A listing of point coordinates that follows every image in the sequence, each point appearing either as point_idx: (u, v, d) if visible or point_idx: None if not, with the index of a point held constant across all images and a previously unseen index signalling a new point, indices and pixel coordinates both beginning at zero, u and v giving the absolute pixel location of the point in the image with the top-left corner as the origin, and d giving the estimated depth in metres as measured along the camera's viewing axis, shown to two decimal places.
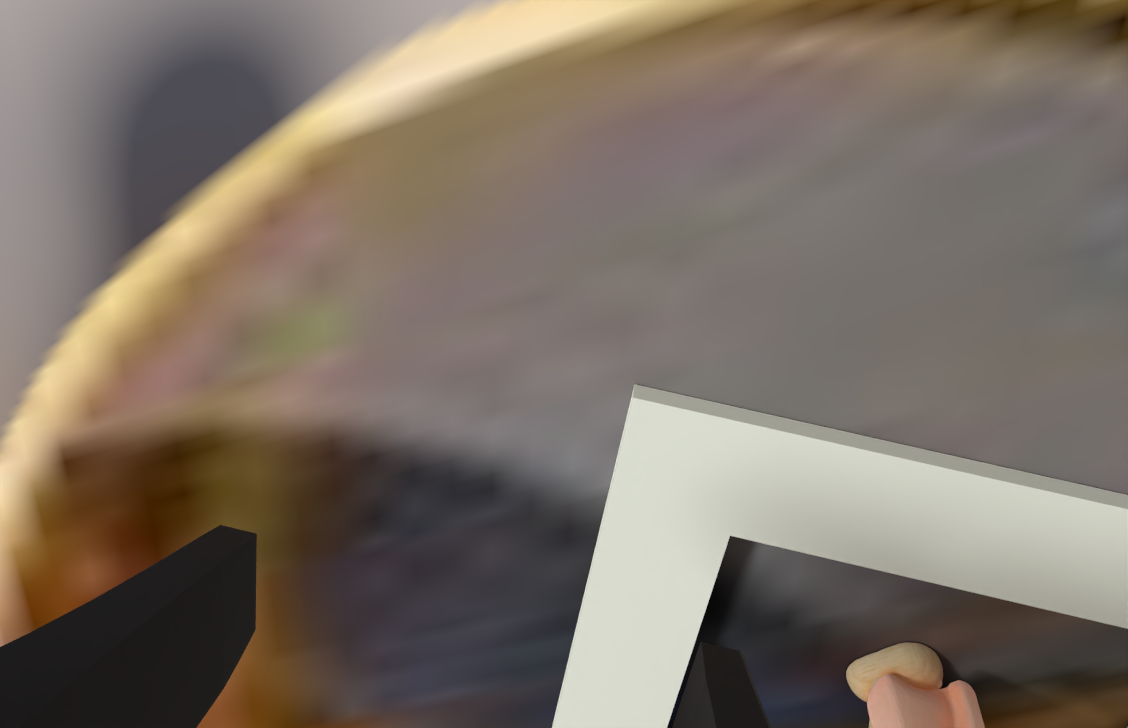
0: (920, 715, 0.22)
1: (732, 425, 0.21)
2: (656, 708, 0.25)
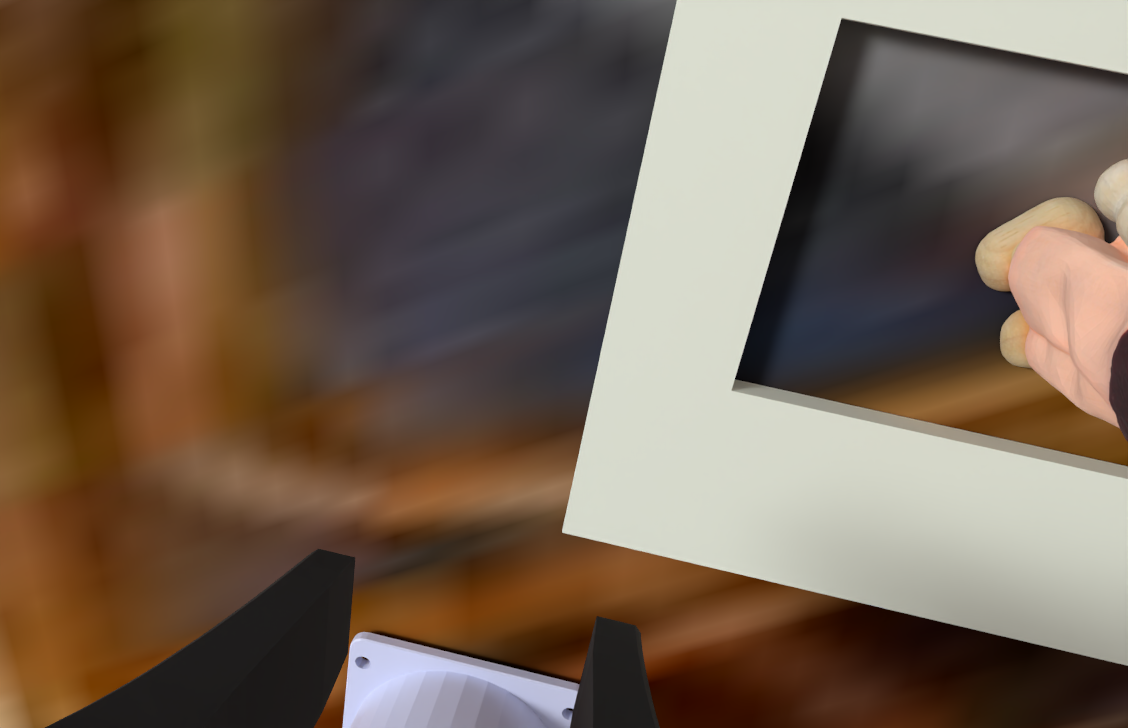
0: (1094, 240, 0.17)
1: None
2: (733, 313, 0.20)
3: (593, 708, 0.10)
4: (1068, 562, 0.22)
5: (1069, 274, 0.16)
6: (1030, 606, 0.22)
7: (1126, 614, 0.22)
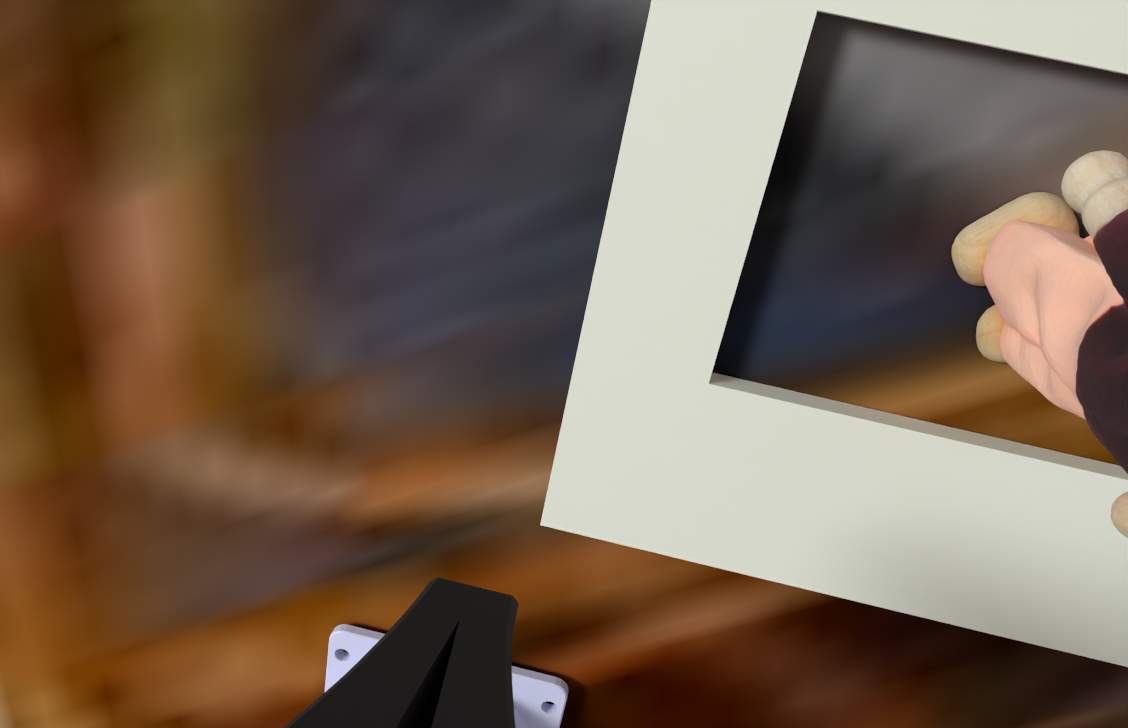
0: (1066, 234, 0.17)
1: None
2: (710, 306, 0.20)
3: (446, 671, 0.10)
4: (1043, 557, 0.22)
5: (1040, 267, 0.16)
6: (1006, 601, 0.22)
7: (1101, 609, 0.22)
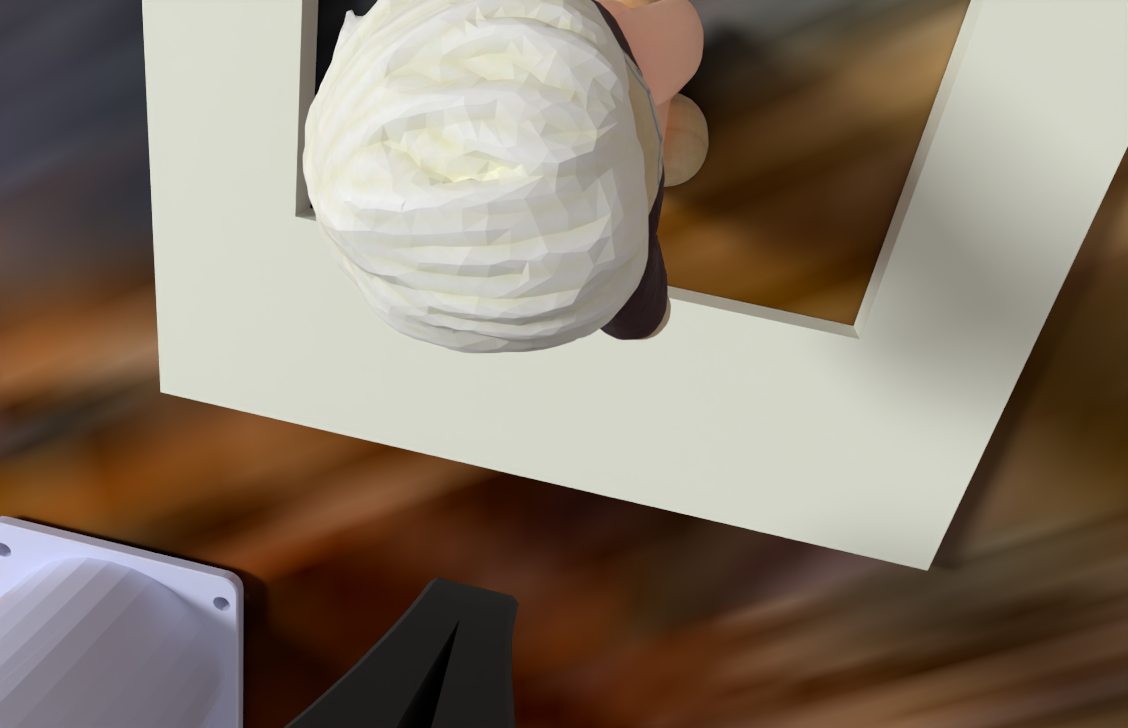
0: None
1: None
2: (276, 122, 0.18)
3: (446, 671, 0.10)
4: (686, 413, 0.19)
5: None
6: (657, 466, 0.20)
7: (758, 473, 0.20)
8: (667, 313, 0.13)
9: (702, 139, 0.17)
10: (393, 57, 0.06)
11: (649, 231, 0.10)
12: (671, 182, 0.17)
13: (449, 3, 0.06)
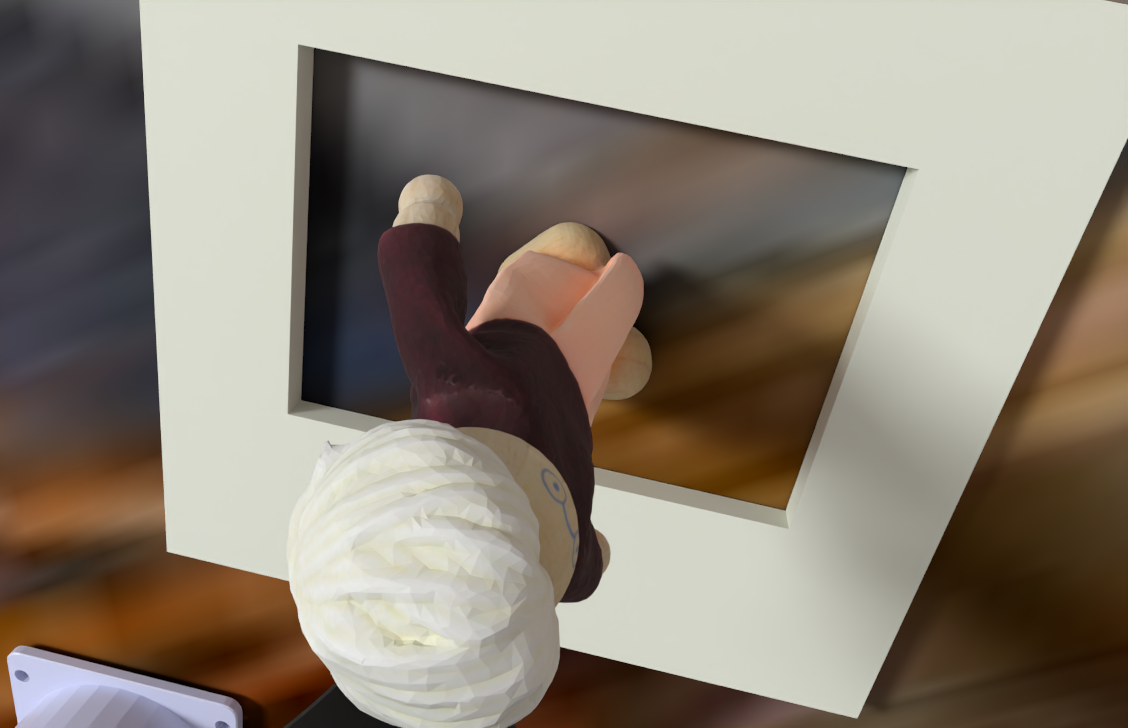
0: (543, 263, 0.17)
1: None
2: (270, 338, 0.20)
3: None
4: (638, 583, 0.21)
5: None
6: (613, 626, 0.22)
7: (704, 634, 0.22)
8: (607, 560, 0.15)
9: (646, 364, 0.19)
10: (357, 536, 0.08)
11: (579, 546, 0.11)
12: (619, 398, 0.19)
13: (401, 494, 0.08)
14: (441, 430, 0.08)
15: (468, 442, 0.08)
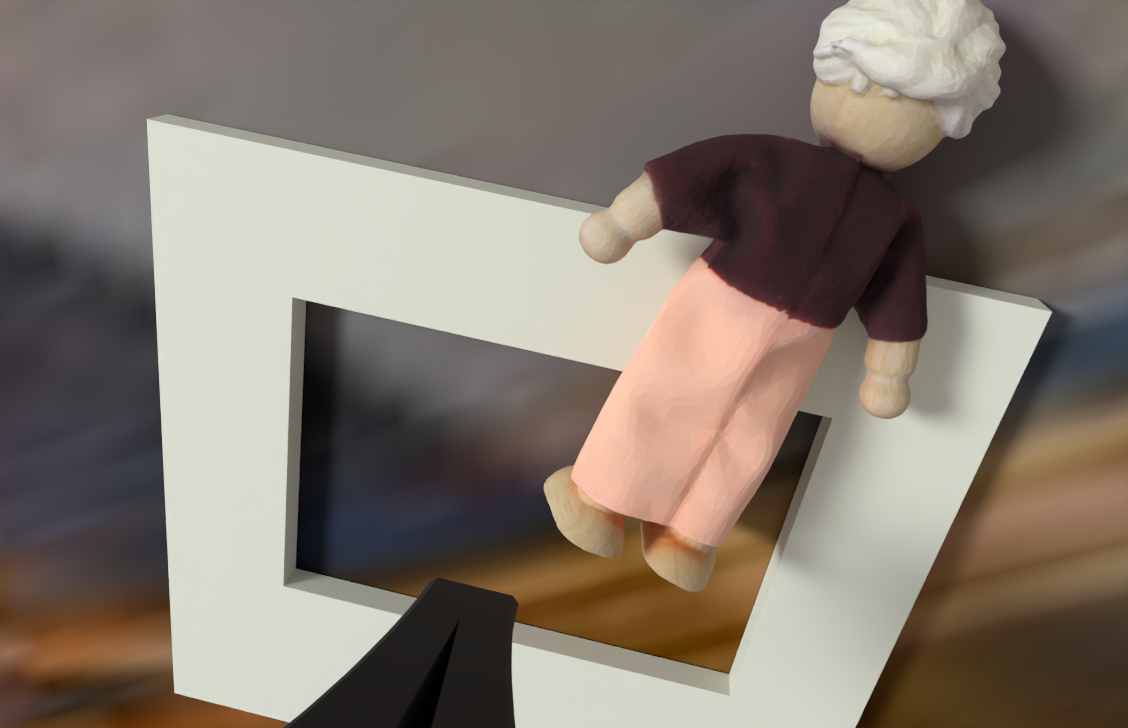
0: None
1: (261, 150, 0.18)
2: (268, 525, 0.22)
3: (446, 671, 0.10)
4: None
5: (642, 386, 0.16)
6: None
7: None
8: None
9: None
10: None
11: None
12: None
13: None
14: None
15: None
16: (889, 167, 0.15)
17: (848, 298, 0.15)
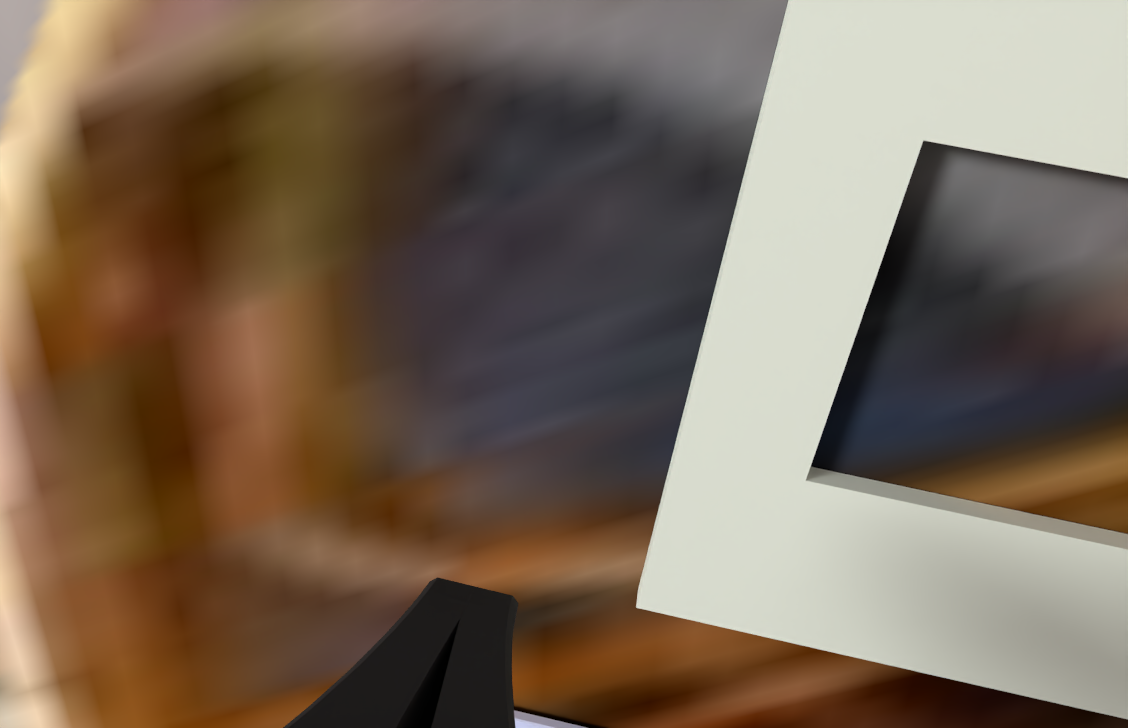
0: None
1: None
2: (809, 410, 0.21)
3: (446, 671, 0.10)
4: None
5: None
6: (1095, 678, 0.23)
7: None
8: None
9: None
10: None
11: None
12: None
13: None
14: None
15: None
16: None
17: None
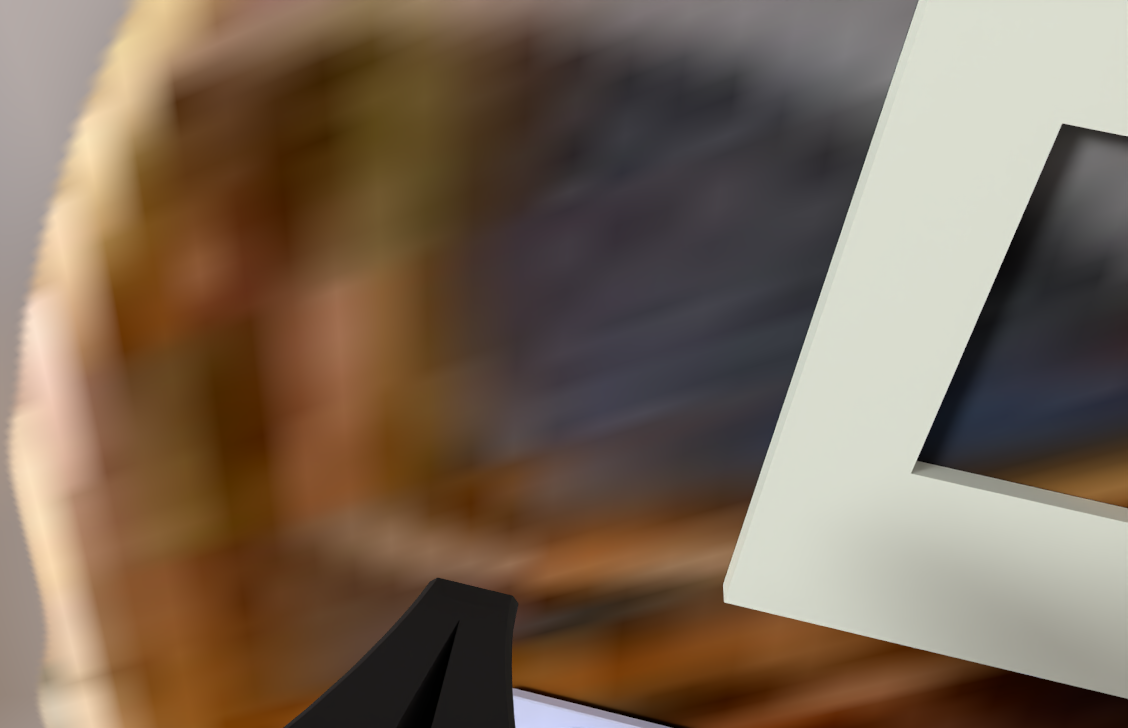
0: None
1: None
2: (920, 401, 0.20)
3: (446, 671, 0.10)
4: None
5: None
6: None
7: None
8: None
9: None
10: None
11: None
12: None
13: None
14: None
15: None
16: None
17: None
